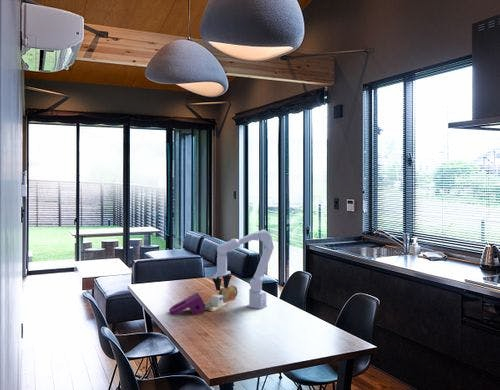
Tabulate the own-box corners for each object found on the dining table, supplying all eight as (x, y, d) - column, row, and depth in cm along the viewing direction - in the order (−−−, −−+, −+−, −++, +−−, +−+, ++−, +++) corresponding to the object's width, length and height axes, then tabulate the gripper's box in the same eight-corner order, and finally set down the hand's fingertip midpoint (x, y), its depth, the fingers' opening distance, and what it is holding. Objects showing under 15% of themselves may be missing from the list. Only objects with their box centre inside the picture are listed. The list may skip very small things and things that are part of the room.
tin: (221, 303, 272) (221, 289, 272) (217, 302, 274) (217, 288, 274) (237, 298, 284) (237, 284, 284) (233, 297, 286) (233, 284, 286)
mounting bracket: (177, 326, 246) (207, 310, 251) (170, 313, 245) (200, 296, 249) (174, 321, 255) (203, 305, 260) (168, 308, 254) (197, 292, 258)
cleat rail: (227, 305, 267) (227, 300, 267) (212, 311, 255) (212, 305, 255) (218, 303, 270) (218, 298, 270) (203, 309, 258) (203, 303, 258)
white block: (224, 305, 262) (224, 295, 262) (219, 306, 258) (219, 297, 258) (216, 303, 265) (216, 294, 265) (211, 305, 261) (211, 295, 261)
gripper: (223, 262, 271) (223, 285, 272) (208, 266, 259) (208, 290, 260) (233, 263, 268) (233, 287, 268) (218, 267, 255) (218, 292, 256)
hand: (222, 289), depth 264 cm, fingers open, 7 cm apart
